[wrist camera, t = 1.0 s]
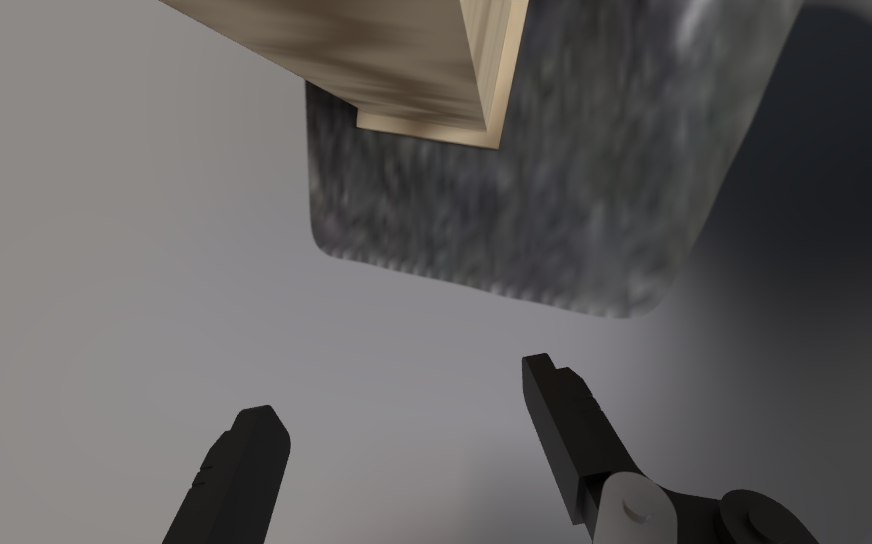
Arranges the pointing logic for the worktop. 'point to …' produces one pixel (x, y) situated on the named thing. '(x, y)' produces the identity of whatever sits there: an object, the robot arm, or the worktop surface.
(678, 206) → the worktop surface
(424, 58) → the shelf stand
